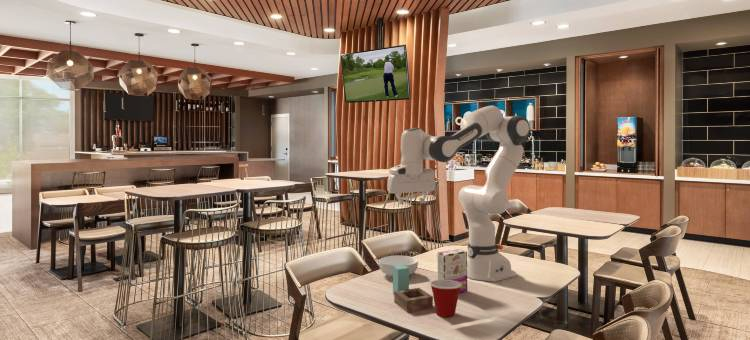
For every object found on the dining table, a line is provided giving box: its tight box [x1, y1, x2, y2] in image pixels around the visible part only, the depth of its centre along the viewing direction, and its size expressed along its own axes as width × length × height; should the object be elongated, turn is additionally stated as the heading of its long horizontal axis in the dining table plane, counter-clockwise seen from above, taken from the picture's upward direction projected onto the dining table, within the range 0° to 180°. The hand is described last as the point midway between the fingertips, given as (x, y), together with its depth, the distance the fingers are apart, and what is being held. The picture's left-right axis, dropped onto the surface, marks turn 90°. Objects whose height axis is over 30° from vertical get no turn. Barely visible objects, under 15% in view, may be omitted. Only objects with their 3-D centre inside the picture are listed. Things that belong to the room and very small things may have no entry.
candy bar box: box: [437, 248, 468, 294], centre depth 180 cm, size 11×5×16 cm, turn 117°
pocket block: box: [393, 287, 434, 313], centre depth 166 cm, size 10×10×5 cm
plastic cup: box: [429, 279, 462, 319], centre depth 157 cm, size 11×11×12 cm
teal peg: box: [392, 265, 410, 296], centre depth 175 cm, size 4×4×12 cm
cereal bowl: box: [378, 255, 419, 279], centre depth 202 cm, size 17×17×7 cm
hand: (411, 203), depth 186 cm, fingers open, 8 cm apart
